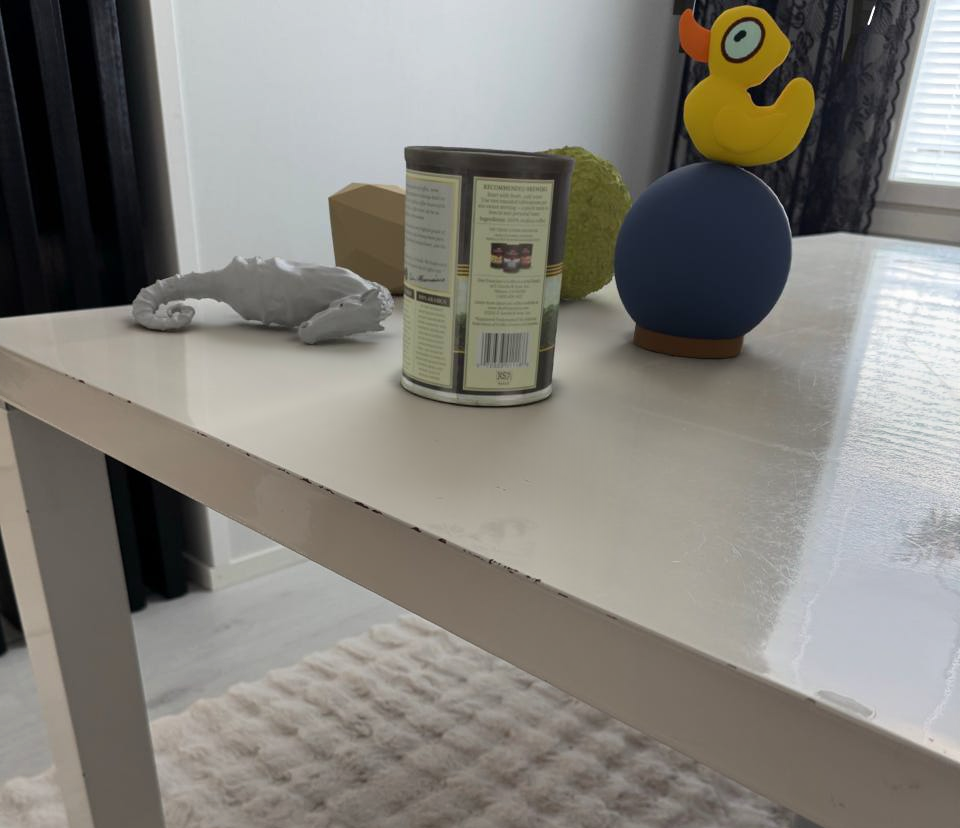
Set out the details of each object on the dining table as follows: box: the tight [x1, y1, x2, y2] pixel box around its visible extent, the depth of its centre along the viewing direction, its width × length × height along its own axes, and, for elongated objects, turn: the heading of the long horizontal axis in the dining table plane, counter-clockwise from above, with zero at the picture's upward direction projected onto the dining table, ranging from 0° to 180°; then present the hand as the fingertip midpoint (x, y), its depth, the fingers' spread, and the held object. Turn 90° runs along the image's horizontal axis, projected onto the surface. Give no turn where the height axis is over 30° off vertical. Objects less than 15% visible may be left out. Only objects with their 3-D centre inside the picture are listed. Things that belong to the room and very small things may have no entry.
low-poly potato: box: [327, 182, 406, 295], centre depth 92 cm, size 15×11×12 cm
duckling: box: [678, 4, 816, 167], centre depth 71 cm, size 11×5×10 cm, turn 80°
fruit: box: [535, 144, 634, 301], centre depth 95 cm, size 16×14×15 cm
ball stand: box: [614, 161, 793, 359], centre depth 77 cm, size 14×14×14 cm
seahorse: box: [131, 255, 395, 345], centre depth 74 cm, size 5×12×20 cm
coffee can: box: [400, 145, 576, 407], centre depth 61 cm, size 10×10×14 cm
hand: (766, 44), depth 80 cm, fingers open, 13 cm apart
